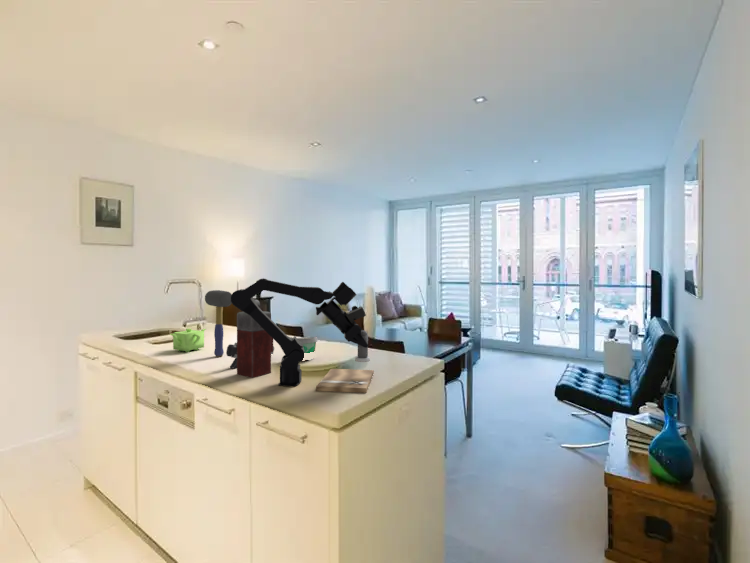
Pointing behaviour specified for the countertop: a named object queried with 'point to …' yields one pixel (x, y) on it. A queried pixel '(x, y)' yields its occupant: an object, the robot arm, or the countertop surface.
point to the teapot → (188, 340)
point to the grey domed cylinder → (363, 350)
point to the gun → (234, 354)
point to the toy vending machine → (253, 346)
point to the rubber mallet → (218, 315)
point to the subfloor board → (346, 380)
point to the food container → (308, 344)
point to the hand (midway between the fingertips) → (366, 345)
